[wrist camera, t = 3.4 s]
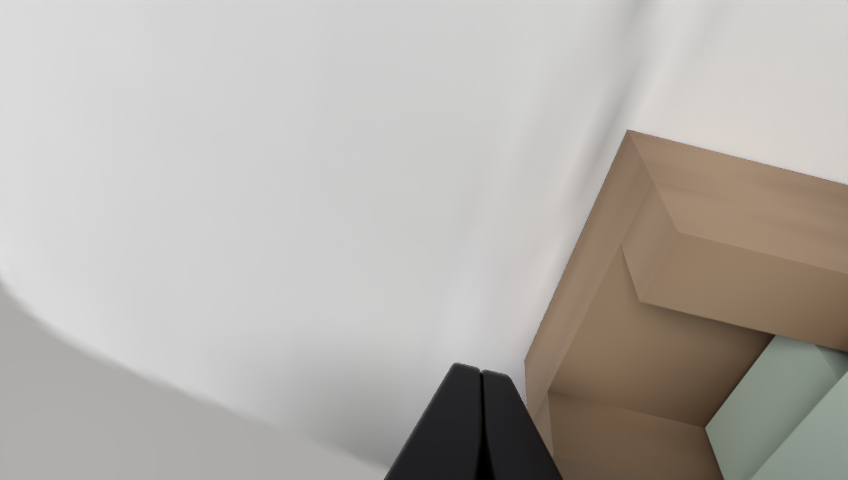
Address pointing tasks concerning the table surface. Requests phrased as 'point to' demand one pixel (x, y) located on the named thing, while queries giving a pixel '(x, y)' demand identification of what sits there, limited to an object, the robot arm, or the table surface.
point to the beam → (680, 305)
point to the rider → (786, 416)
